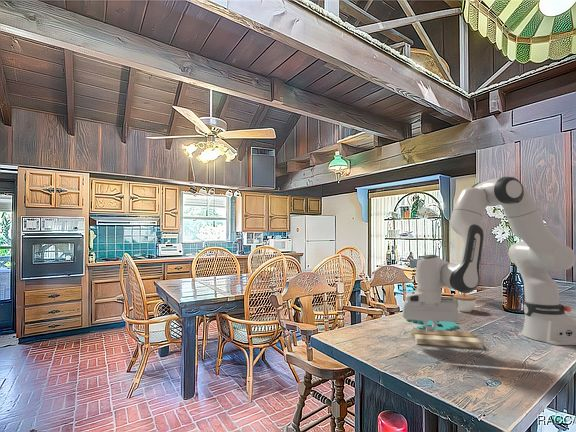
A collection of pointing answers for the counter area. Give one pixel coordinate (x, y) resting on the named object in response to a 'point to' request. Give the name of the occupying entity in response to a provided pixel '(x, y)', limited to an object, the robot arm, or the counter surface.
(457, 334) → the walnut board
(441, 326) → the alien figure
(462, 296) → the lidded jar
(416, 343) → the underlay mat
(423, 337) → the birch plank
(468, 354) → the counter surface
